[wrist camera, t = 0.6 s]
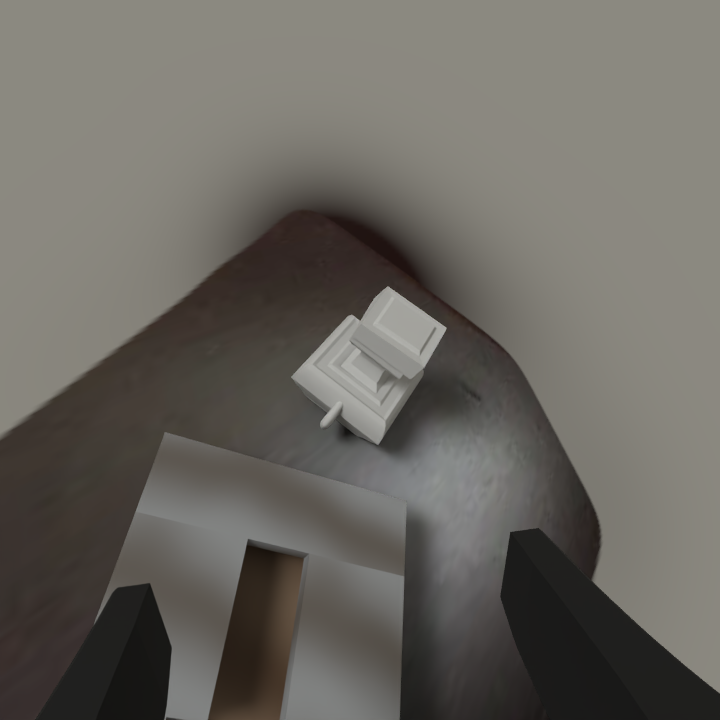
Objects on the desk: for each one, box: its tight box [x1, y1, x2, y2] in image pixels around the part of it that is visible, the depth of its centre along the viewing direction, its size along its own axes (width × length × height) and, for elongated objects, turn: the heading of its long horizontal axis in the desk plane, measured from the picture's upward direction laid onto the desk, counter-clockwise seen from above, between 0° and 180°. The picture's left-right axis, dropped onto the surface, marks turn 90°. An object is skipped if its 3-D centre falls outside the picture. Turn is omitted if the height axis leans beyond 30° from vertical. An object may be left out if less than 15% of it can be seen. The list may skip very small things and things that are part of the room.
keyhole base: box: [94, 432, 407, 720], centre depth 23 cm, size 18×13×4 cm
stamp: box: [291, 287, 447, 445], centre depth 33 cm, size 9×7×8 cm
